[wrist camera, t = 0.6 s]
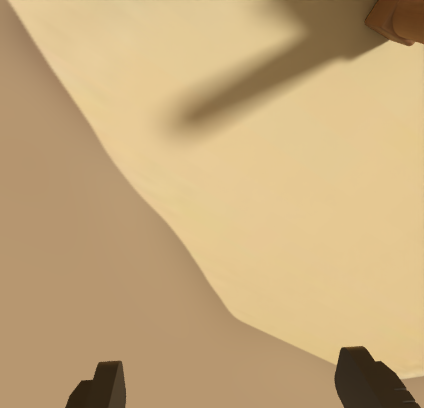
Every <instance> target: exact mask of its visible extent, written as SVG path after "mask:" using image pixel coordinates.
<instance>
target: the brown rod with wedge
mask: <svg viewBox="0 0 424 408" xmlns="http://www.w3.org/2000/svg"><path fill="white" fill-rule="evenodd" d="M365 24H366V25H367V26H368V27H370V28H372V29H373V30H375V31H377V32H378V33H380V34H381V35H383V36H385V37H386V38H388V39H389V40H391V41H394V42H397V43H400V44H403V45H406V46H411V45H413V44H414V42H419V43H422V44H424V0H378V2H377V3H376V5H375V6H374V8H373V9H372V11H371V12H370V14H369V15H368V17H367V18H366V20H365Z"/></svg>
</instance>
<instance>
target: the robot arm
mask: <svg viewBox="0 0 424 408" xmlns="http://www.w3.org/2000/svg"><path fill="white" fill-rule="evenodd" d="M335 387H336V390H337V393H338V396H339V398H340V400H341V402H342V404H343V406H344V408H420V406H419V405H418V404H417V403H416V402H415V399H414V398H413V397H412V395H411V394H410V392H409V391H407V390H406V387H405V386H404V384H403V383H402V382H401V380H400V379H399V377H398V376H397V375H396V373H395V372H393V371H392V370H391V369H390V368H389V367H387V366H386V365H385V364H384V363H383V362H381V361H376V362H375V361H374V359H373V358H372V356H371V355H370V353H369V352H368V350H367V349H366V348H365V347H363V346H357V347H343V348H341V350H340V354H339V359H338V363H337V368H336V372H335ZM125 404H126V388H125V381H124V373H123V366H122V362H121V361H108V362H99V363H98V365H97V368H96V371H95V375H94V378H93V380H85V381H81V382H80V383H79V385H78V386H77V387H76V388H75V390H74V391H73V392H72V394H71V395H70V396H69V399H68V402H67V405H66V407H65V408H125Z"/></svg>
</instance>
